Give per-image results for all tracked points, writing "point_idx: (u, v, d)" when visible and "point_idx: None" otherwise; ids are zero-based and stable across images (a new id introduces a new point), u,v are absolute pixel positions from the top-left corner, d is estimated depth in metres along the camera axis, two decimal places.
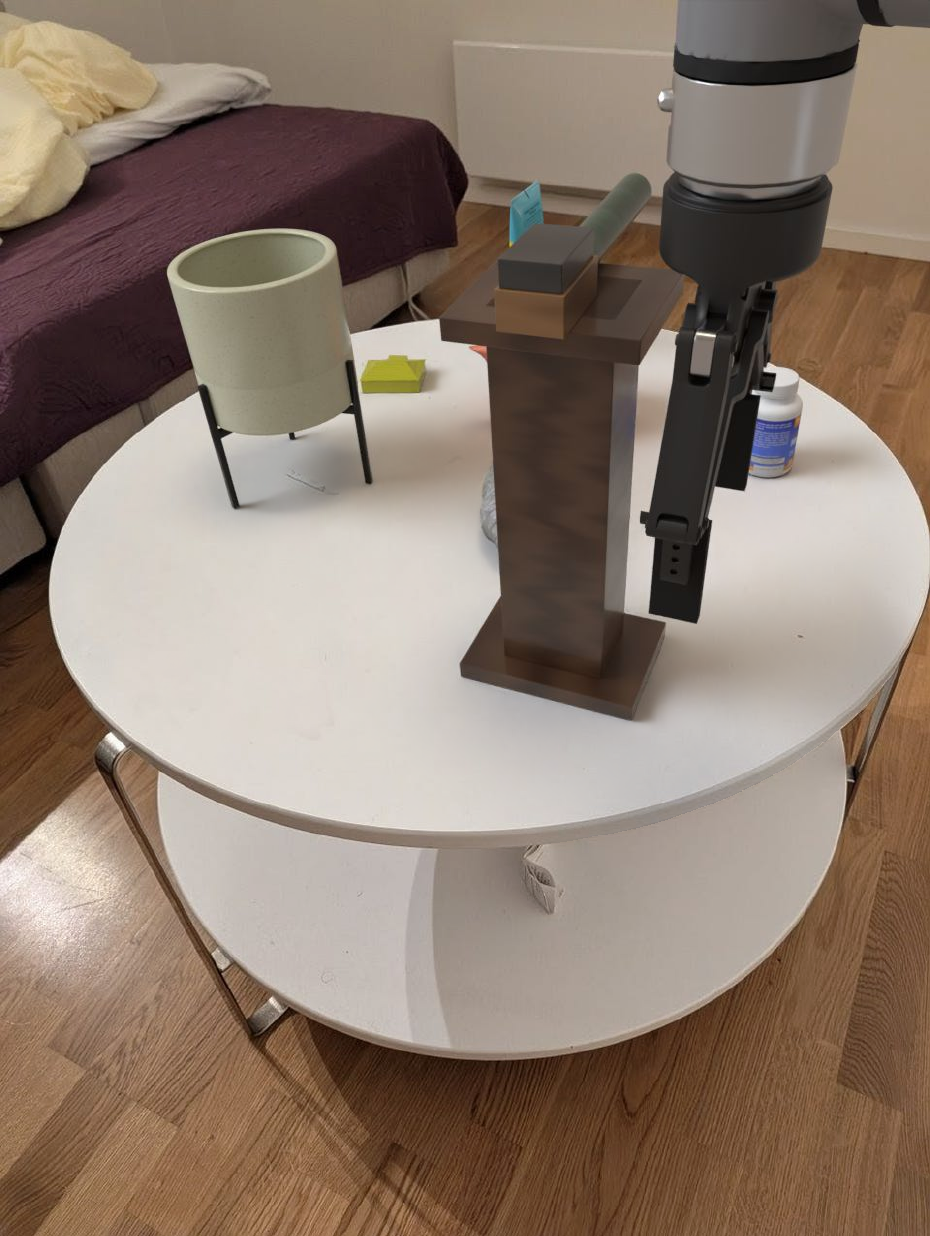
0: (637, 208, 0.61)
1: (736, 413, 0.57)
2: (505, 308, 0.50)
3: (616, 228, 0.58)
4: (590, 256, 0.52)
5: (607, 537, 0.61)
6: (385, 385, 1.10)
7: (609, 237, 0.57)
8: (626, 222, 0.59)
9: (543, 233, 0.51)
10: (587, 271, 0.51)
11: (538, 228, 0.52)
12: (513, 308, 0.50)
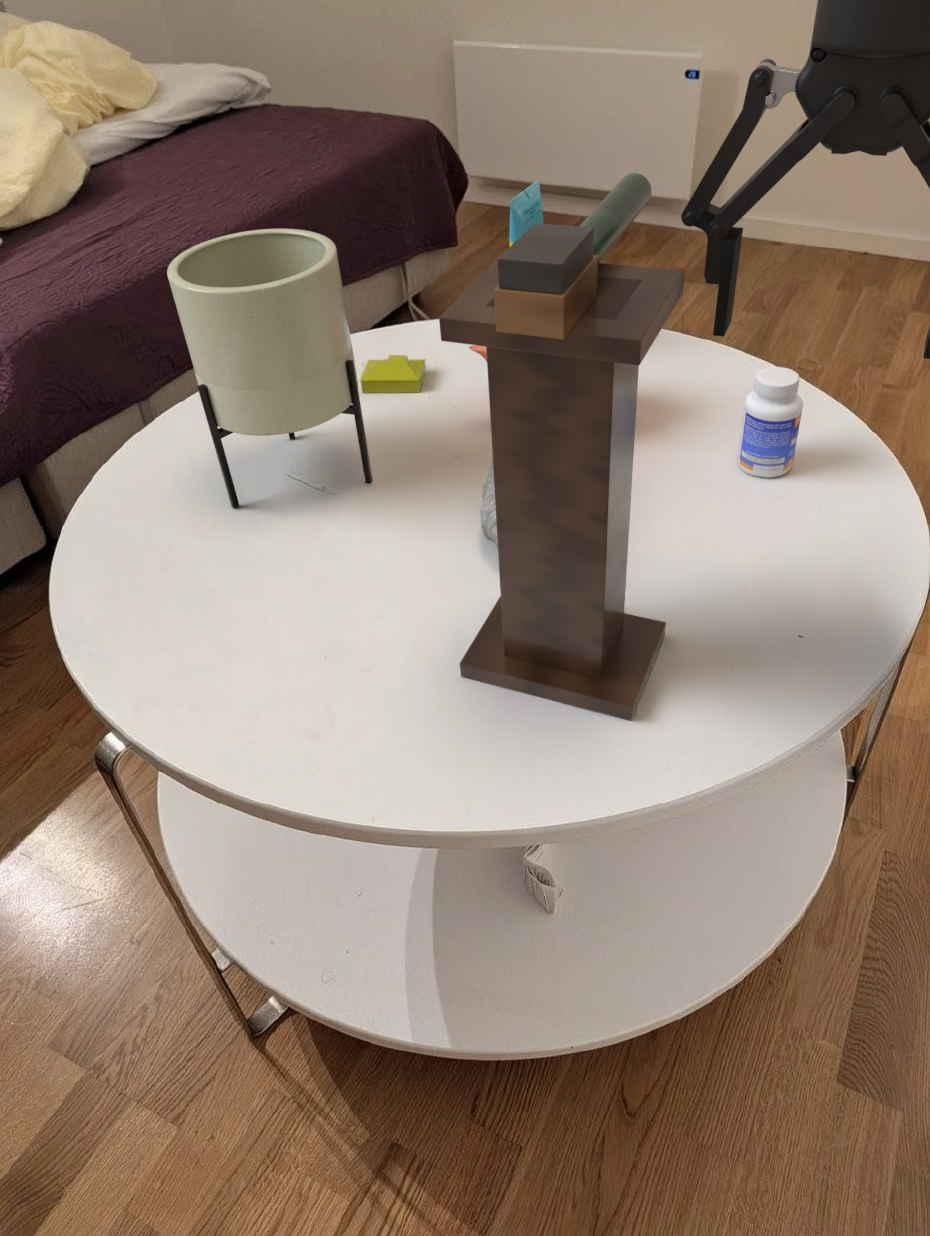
0: (637, 208, 0.61)
1: (737, 249, 0.62)
2: (505, 308, 0.50)
3: (616, 228, 0.58)
4: (590, 256, 0.52)
5: (607, 537, 0.61)
6: (385, 385, 1.10)
7: (609, 237, 0.57)
8: (626, 222, 0.59)
9: (543, 233, 0.51)
10: (587, 271, 0.51)
11: (538, 228, 0.52)
12: (513, 308, 0.50)
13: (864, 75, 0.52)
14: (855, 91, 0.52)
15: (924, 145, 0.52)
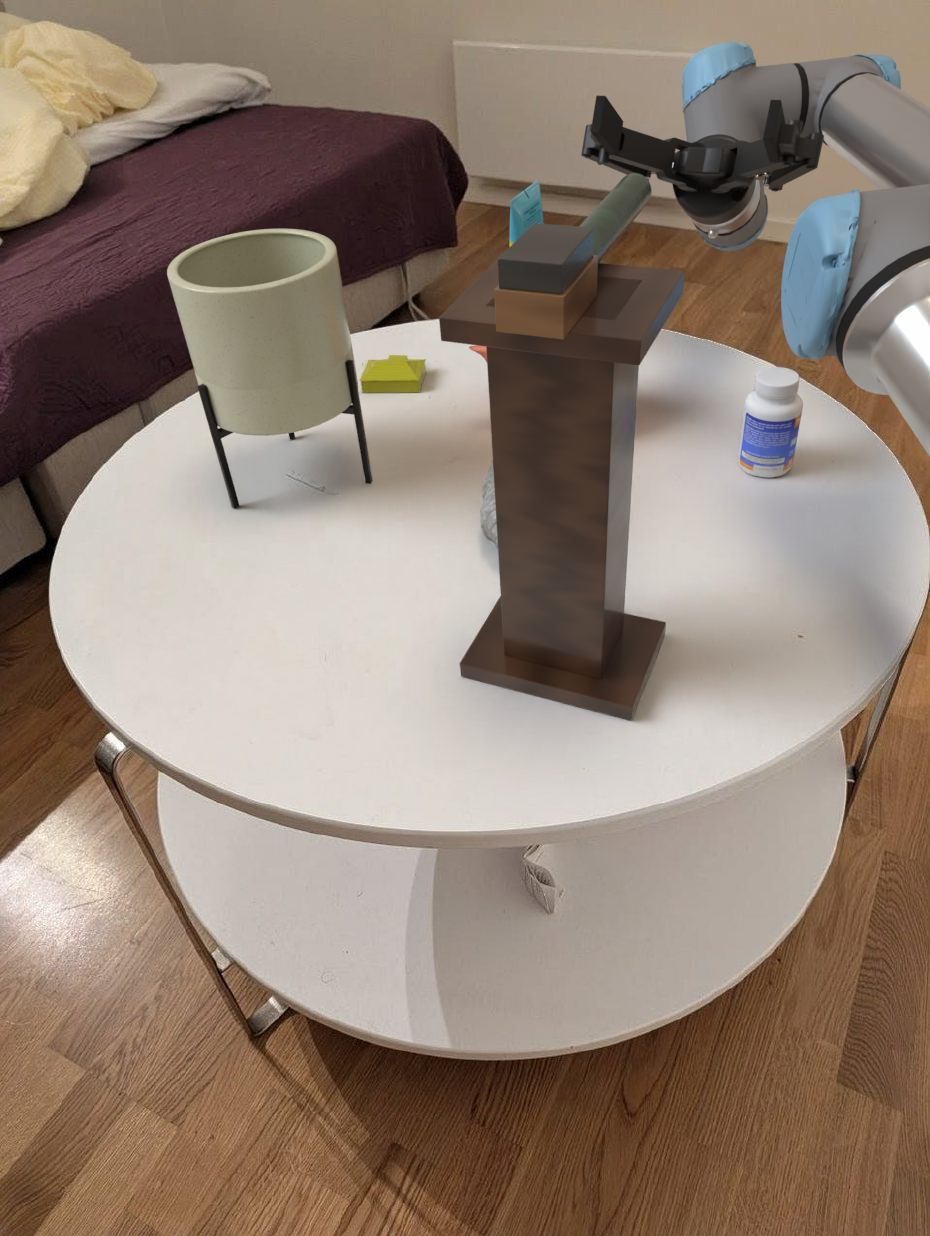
0: (637, 208, 0.61)
1: None
2: (505, 308, 0.50)
3: (616, 228, 0.58)
4: (590, 256, 0.52)
5: (607, 537, 0.61)
6: (385, 385, 1.10)
7: (609, 237, 0.57)
8: (626, 222, 0.59)
9: (543, 233, 0.51)
10: (587, 271, 0.51)
11: (538, 228, 0.52)
12: (513, 308, 0.50)
13: (713, 184, 0.86)
14: None
15: (664, 180, 0.85)
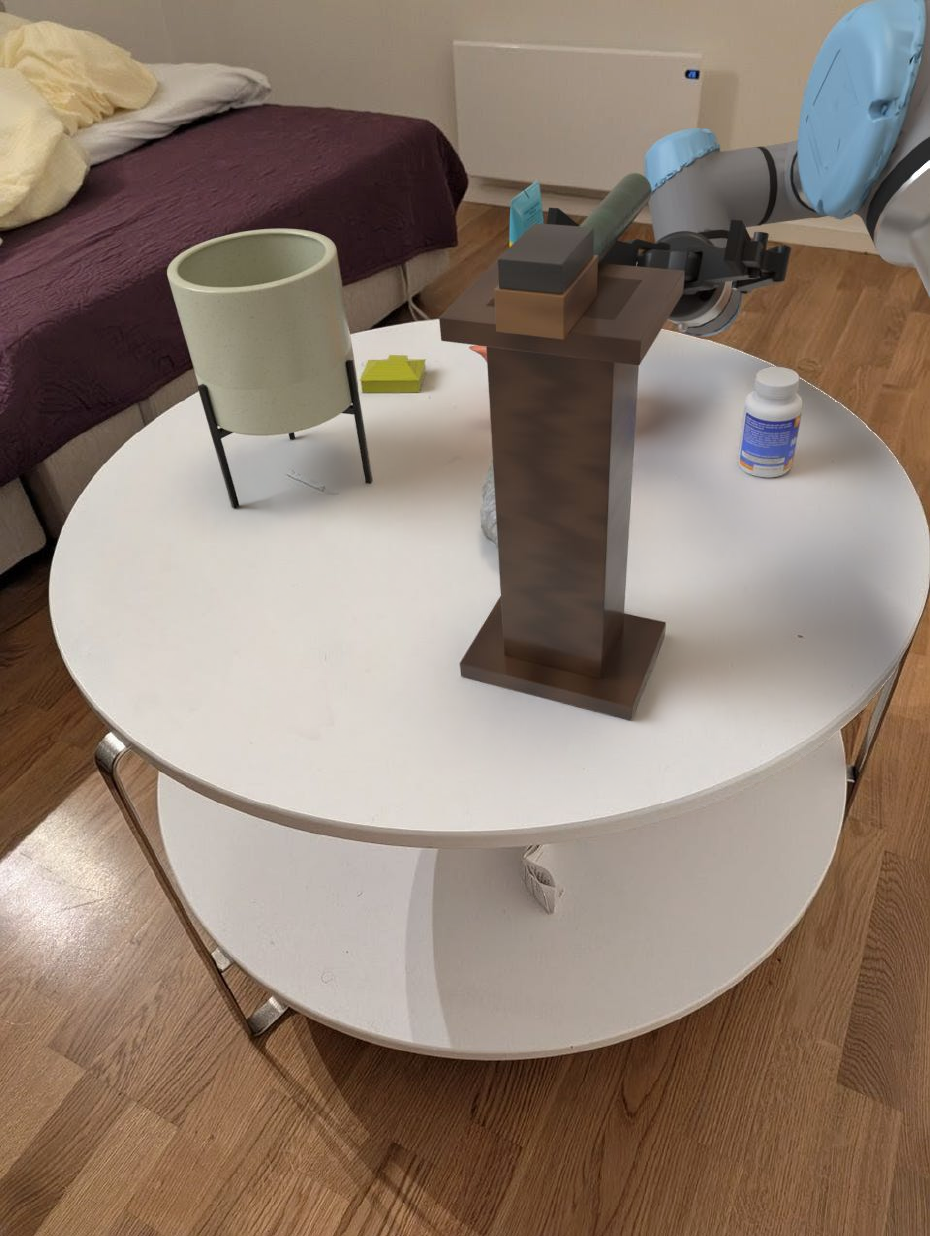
0: (637, 208, 0.61)
1: None
2: (505, 308, 0.50)
3: (616, 228, 0.58)
4: (590, 256, 0.52)
5: (607, 537, 0.61)
6: (385, 385, 1.10)
7: (609, 237, 0.57)
8: (626, 222, 0.59)
9: (543, 233, 0.51)
10: (587, 271, 0.51)
11: (538, 228, 0.52)
12: (513, 308, 0.50)
13: None
14: None
15: None
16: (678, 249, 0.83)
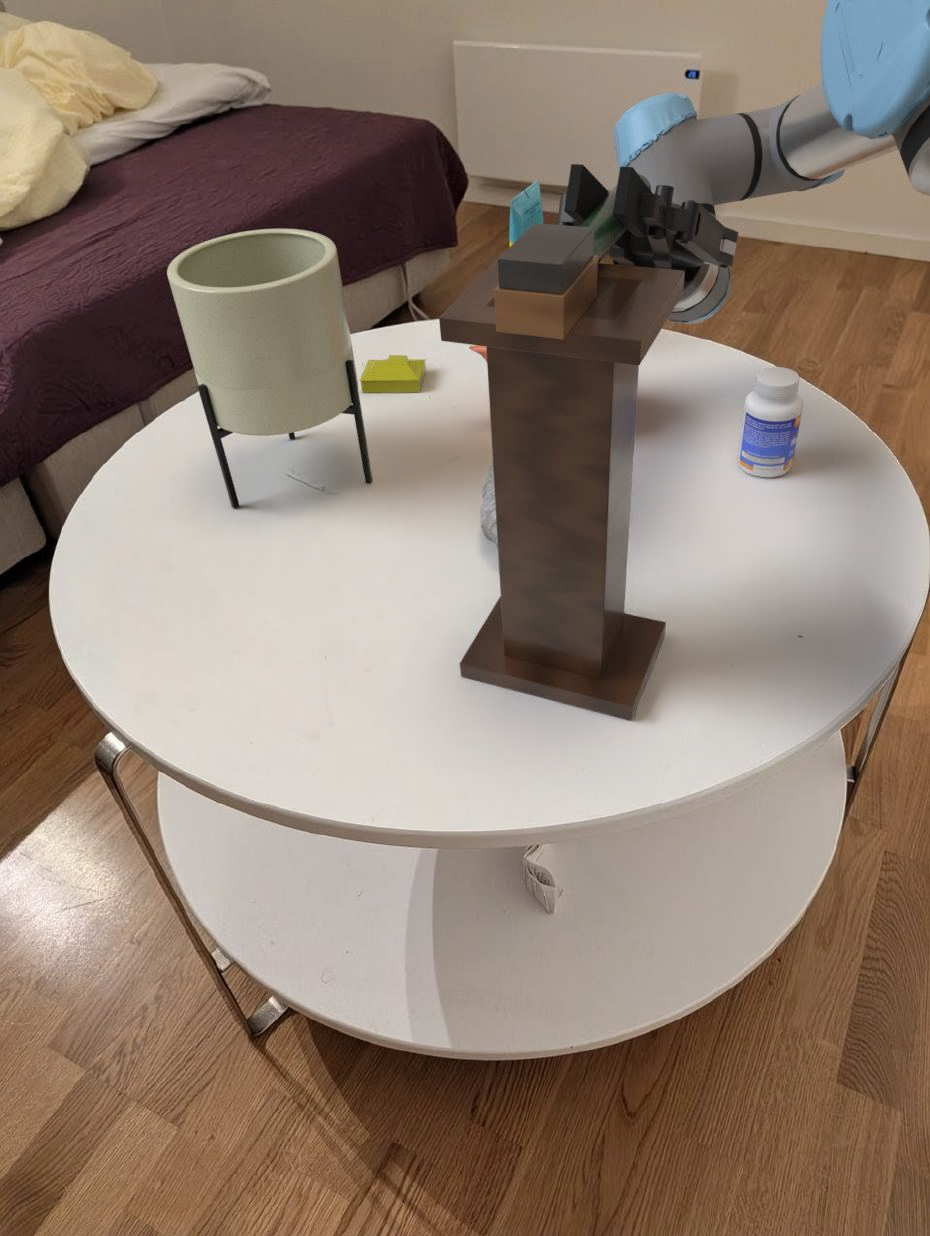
0: None
1: None
2: (505, 308, 0.50)
3: (615, 228, 0.58)
4: (590, 256, 0.52)
5: (607, 537, 0.61)
6: (385, 385, 1.10)
7: (609, 236, 0.57)
8: None
9: (543, 233, 0.51)
10: (587, 271, 0.51)
11: (538, 228, 0.52)
12: (513, 308, 0.50)
13: None
14: None
15: (615, 258, 0.70)
16: None
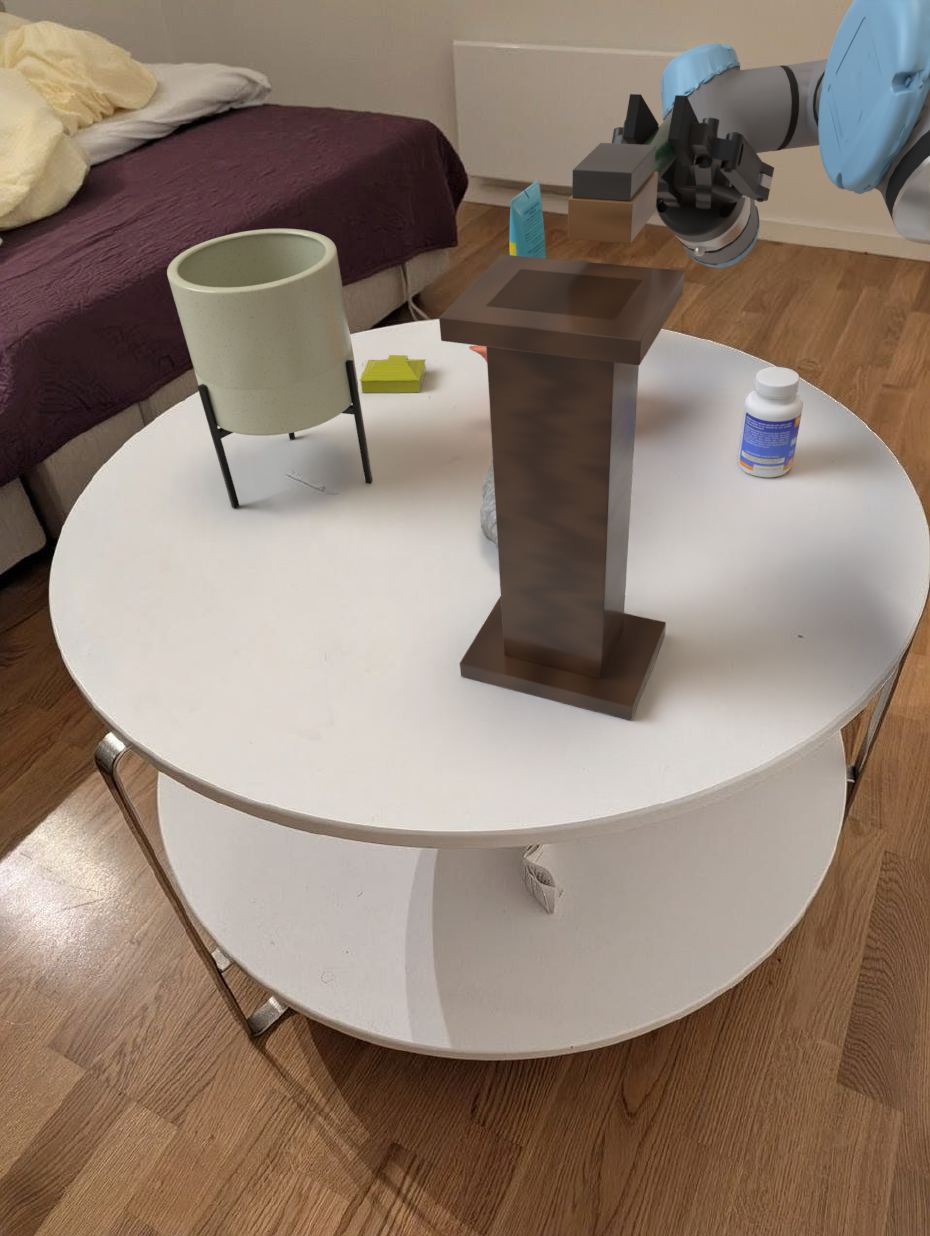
0: None
1: None
2: (577, 216, 0.56)
3: (669, 153, 0.63)
4: (652, 172, 0.58)
5: (607, 537, 0.61)
6: (385, 385, 1.10)
7: (664, 160, 0.62)
8: None
9: (610, 150, 0.57)
10: (649, 185, 0.57)
11: (605, 146, 0.57)
12: (585, 215, 0.56)
13: None
14: None
15: (659, 193, 0.76)
16: None
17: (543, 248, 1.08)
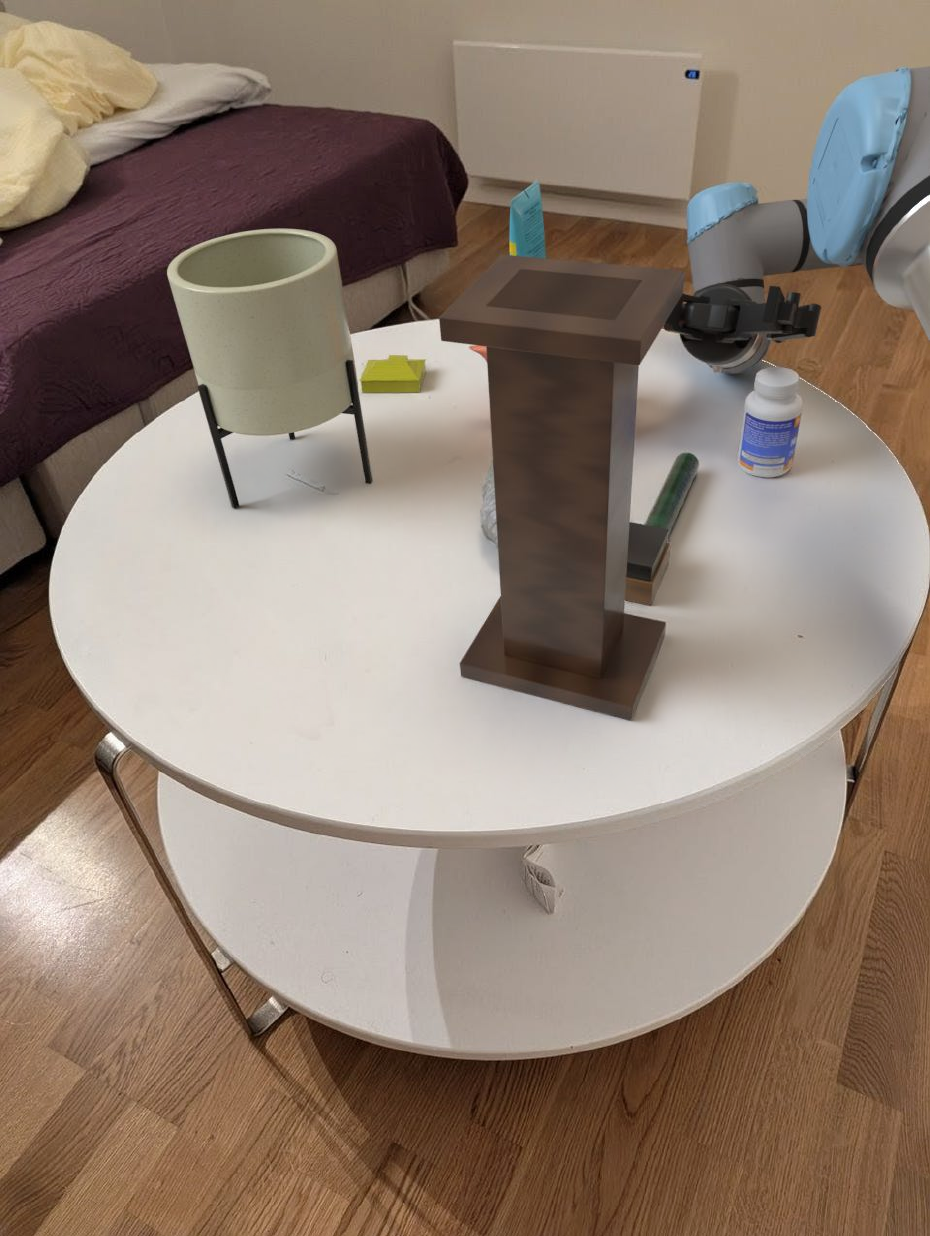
0: (690, 483, 0.89)
1: None
2: None
3: (678, 507, 0.86)
4: (666, 546, 0.80)
5: (607, 537, 0.61)
6: (385, 385, 1.10)
7: (674, 516, 0.85)
8: (684, 498, 0.88)
9: (636, 534, 0.79)
10: (664, 558, 0.79)
11: (632, 528, 0.80)
12: None
13: (717, 333, 0.89)
14: None
15: (671, 331, 0.87)
16: (716, 300, 0.90)
17: (543, 248, 1.08)
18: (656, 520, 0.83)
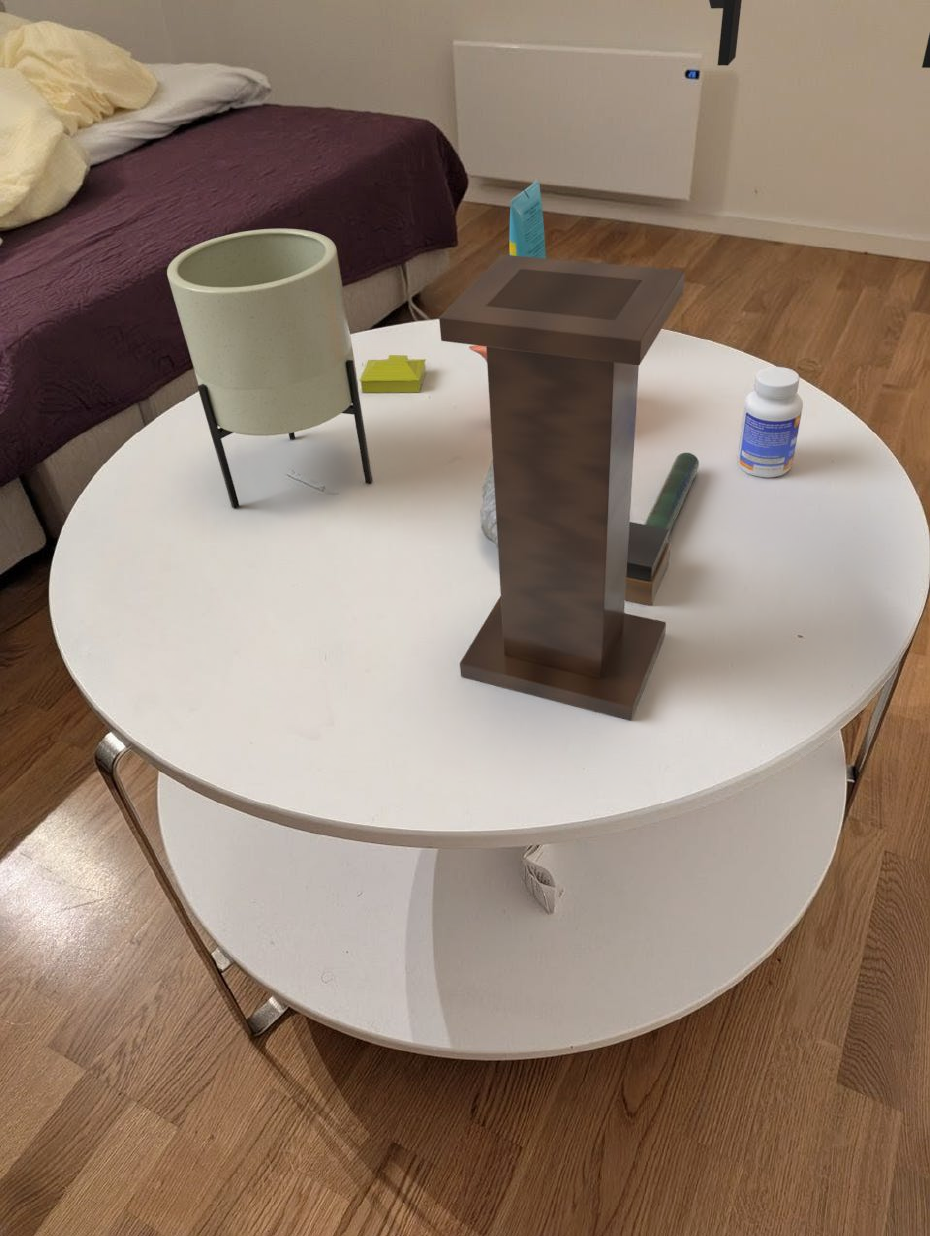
0: (690, 483, 0.89)
1: None
2: None
3: (678, 507, 0.86)
4: (666, 546, 0.80)
5: (607, 537, 0.61)
6: (385, 385, 1.10)
7: (674, 516, 0.85)
8: (684, 498, 0.88)
9: (636, 534, 0.79)
10: (664, 558, 0.79)
11: (632, 528, 0.80)
12: None
13: None
14: None
15: None
16: None
17: (543, 248, 1.08)
18: (656, 520, 0.83)
